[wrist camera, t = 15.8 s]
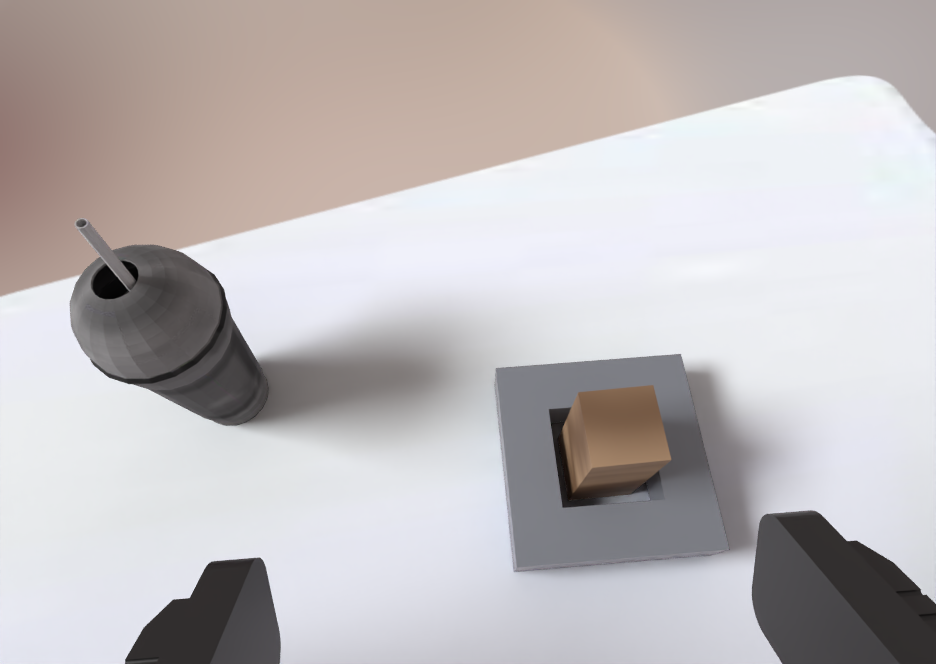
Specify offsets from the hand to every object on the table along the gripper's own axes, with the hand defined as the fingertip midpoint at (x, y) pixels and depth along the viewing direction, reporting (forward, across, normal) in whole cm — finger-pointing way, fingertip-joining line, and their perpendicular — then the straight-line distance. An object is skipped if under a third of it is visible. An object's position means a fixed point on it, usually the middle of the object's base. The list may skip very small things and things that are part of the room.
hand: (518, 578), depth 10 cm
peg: (+26, +8, -15) cm, 31 cm away
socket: (+26, +8, -15) cm, 31 cm away
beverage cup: (+31, -16, -10) cm, 36 cm away
